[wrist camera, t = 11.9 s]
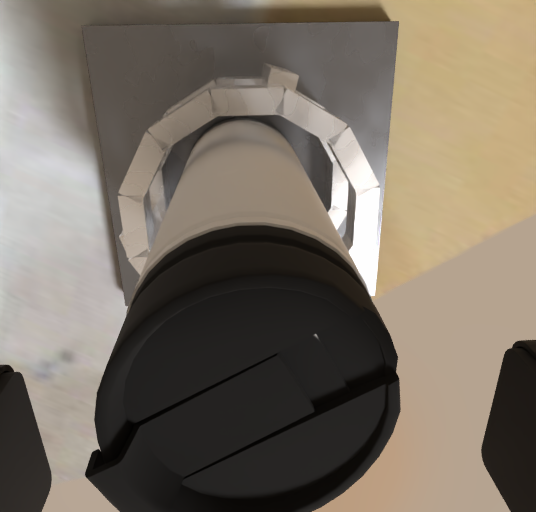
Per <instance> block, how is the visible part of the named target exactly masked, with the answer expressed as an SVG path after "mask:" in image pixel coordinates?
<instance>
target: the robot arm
mask: <svg viewBox="0 0 536 512" xmlns="http://www.w3.org/2000/svg"><path fill="white" fill-rule="evenodd" d="M481 451H482V458H483V462H484V465H485V467H486V469H487V471H488V472H489V474H490V476H491V478H492V479H493V481H494V483H495V485H496V487H497V488H498V490H499V492H500V494H501V495H502V497H503V499H504V500H505V502H506V504H507V506H508V508H509V509H510V511H511V512H536V340H526V341H517V342H515V343H514V345H513V347H512V349H508V350H507V351H506V352H505V354H504V358H503V362H502V366H501V370H500V375H499V378H498V382H497V387H496V391H495V395H494V399H493V403H492V407H491V411H490V415H489V419H488V424H487V428H486V431H485V436H484V440H483V444H482V449H481ZM51 480H52V477H51V470H50V467H49V463H48V460H47V456H46V453H45V450H44V446H43V443H42V439H41V436H40V433H39V429H38V426H37V422H36V419H35V416H34V412H33V409H32V405H31V402H30V399H29V395H28V392H27V388H26V385H25V382H24V378H23V376H22V374H21V373H20V372H14V370H13V368H12V367H11V366H10V365H0V512H42V509H43V507H44V504H45V502H46V499H47V497H48V494H49V491H50V487H51Z"/></svg>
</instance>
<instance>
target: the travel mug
mask: <svg viewBox="0 0 536 512" xmlns="http://www.w3.org/2000/svg"><path fill="white" fill-rule="evenodd" d="M397 360H398V356H397V353H396V350H395V348H394V345H393V342H392V339H391V336H390V334H389V332H388V330H387V328H386V326H385V324H384V322H383V320H382V318H381V317H380V314H379V312H378V311H377V309H376V307H375V306H374V304H373V302H372V299H371V296H370V293H369V290H368V288H367V285H366V283H365V281H364V279H363V278H362V276H361V274H360V273H359V270H358V268H357V266H356V264H355V263H354V261H353V259H352V257H351V255H350V253H349V252H348V250H347V248H346V246H345V244H344V242H343V240H342V239H341V237H340V235H339V233H338V231H337V229H336V228H335V226H334V224H333V222H332V220H331V218H330V216H329V215H328V213H327V211H326V209H325V207H324V205H323V204H322V202H321V200H320V198H319V196H318V194H317V192H316V191H315V189H314V187H313V185H312V183H311V181H310V179H309V178H308V176H307V174H306V172H305V170H304V168H303V167H302V165H301V163H300V161H299V159H298V157H297V155H296V154H295V152H294V150H293V148H292V146H291V145H290V143H289V142H288V140H287V139H286V138H285V137H284V136H283V135H282V133H281V132H280V131H278V130H277V129H276V128H274V127H273V126H271V125H270V124H268V123H265V122H263V121H260V120H257V119H252V118H233V119H228V120H224V121H222V122H220V123H217V124H215V125H214V126H212V127H211V128H209V129H208V130H207V131H205V132H204V134H203V135H202V136H201V137H200V138H199V139H198V140H197V142H196V144H195V145H194V147H193V149H192V151H191V153H190V156H189V158H188V161H187V163H186V166H185V168H184V170H183V173H182V175H181V178H180V180H179V183H178V185H177V187H176V190H175V192H174V195H173V197H172V200H171V202H170V204H169V207H168V209H167V212H166V214H165V217H164V219H163V221H162V224H161V226H160V229H159V231H158V234H157V236H156V238H155V241H154V243H153V246H152V248H151V251H150V253H149V255H148V258H147V260H146V263H145V265H144V268H143V270H142V272H141V275H140V278H139V281H138V283H137V285H136V287H135V289H134V292H133V295H132V298H131V301H130V304H129V306H128V309H127V315H126V318H125V321H124V323H123V326H122V329H121V331H120V334H119V336H118V339H117V341H116V344H115V346H114V349H113V351H112V354H111V356H110V359H109V361H108V364H107V366H106V369H105V372H104V375H103V377H102V380H101V383H100V386H99V389H98V391H97V398H96V408H95V419H94V420H95V427H96V433H97V440H98V443H99V446H100V450H101V451H100V450H99V449H97V450H95V451H93V452H92V454H91V457H90V460H89V463H88V466H87V469H86V472H85V476H86V477H87V478H88V479H89V481H90V482H91V483H92V484H93V485H94V486H95V487H96V488H98V490H99V491H100V492H101V493H102V494H103V495H104V496H105V497H106V498H107V500H108V501H109V502H110V503H111V504H112V505H113V506H115V507H116V508H117V509H118V510H119V511H120V512H312V511H314V510H316V509H318V508H320V507H322V506H324V505H325V504H327V503H328V502H330V501H331V500H333V499H335V498H336V497H338V496H339V495H341V494H342V493H344V492H345V491H346V490H347V489H348V488H349V487H351V486H352V485H353V484H354V483H355V482H356V481H357V480H359V479H360V478H361V477H362V476H363V475H364V474H365V472H366V471H367V470H368V469H369V468H370V467H371V465H372V464H373V463H374V462H375V461H376V460H377V458H378V457H379V456H380V454H381V452H382V451H383V449H384V447H385V445H386V444H387V442H388V440H389V439H390V437H391V435H392V433H393V431H394V428H395V425H396V422H397V419H398V416H399V413H400V387H399V377H398V375H397V373H396V367H397Z"/></svg>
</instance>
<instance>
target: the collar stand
mask: <svg viewBox="0 0 536 512" xmlns="http://www.w3.org/2000/svg"><path fill="white" fill-rule="evenodd" d="M398 27H399V21H388V22H316V23H244V24H171V25H99V26H82V32H83V38H84V44H85V51H86V57H87V64H88V70H89V76H90V83H91V89H92V95H93V102H94V108H95V114H96V121H97V127H98V133H99V140H100V146H101V153H102V159H103V165H104V172H105V178H106V184H107V191H108V197H109V203H110V210H111V216H112V222H113V229H114V235H115V242H116V248H117V254H118V261H119V267H120V273H121V280H122V286H123V292H124V299H125V305H126V306H129V304H130V301H131V298H132V295H133V292H134V289H135V287H136V285H137V283H138V281H139V278H140V275H141V272H142V270H143V268H144V265H145V263H146V260H147V258H148V255H149V253H150V251H151V248H152V246H153V243H154V241H155V238H156V236H157V234H158V231H159V229H160V226H161V224H162V221H163V219H164V217H165V214H166V212H167V209H168V207H169V204H170V202H171V200H172V197H173V195H174V192H175V190H176V187H177V185H178V183H179V180H180V178H181V175H182V173H183V170H184V168H185V166H186V163H187V161H188V158H189V156H190V153H191V151H192V149H193V147H194V145H195V144H196V142H197V140H198V139H199V138H200V137H201V136H202V135H203V134H204V132H205V131H207V130H208V129H209V128H211V127H212V126H214V125H215V124H217V123H220V122H222V121H224V120H228V119H233V118H252V119H257V120H260V121H263V122H265V123H268V124H270V125H271V126H273V127H274V128H276V129H277V130H278V131H280V132H281V133H282V135H283V136H284V137H285V138H286V139H287V140H288V142H289V143H290V145H291V146H292V148H293V150H294V152H295V154H296V155H297V157H298V159H299V161H300V163H301V165H302V167H303V168H304V170H305V172H306V174H307V176H308V178H309V179H310V181H311V183H312V185H313V187H314V189H315V191H316V192H317V194H318V196H319V198H320V200H321V202H322V204H323V205H324V207H325V209H326V211H327V213H328V215H329V216H330V218H331V220H332V222H333V224H334V226H335V228H336V229H337V231H338V233H339V235H340V237H341V239H342V240H343V242H344V244H345V246H346V248H347V250H348V252H349V253H350V255H351V257H352V259H353V261H354V263H355V264H356V266H357V268H358V270H359V273H360V274H361V276H362V278H363V279H364V281H365V283H366V285H367V288H368V290H369V293H370V296H375V289H376V277H377V266H378V255H379V243H380V232H381V220H382V209H383V198H384V186H385V175H386V164H387V152H388V141H389V129H390V118H391V107H392V95H393V84H394V73H395V61H396V50H397V39H398Z"/></svg>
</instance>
